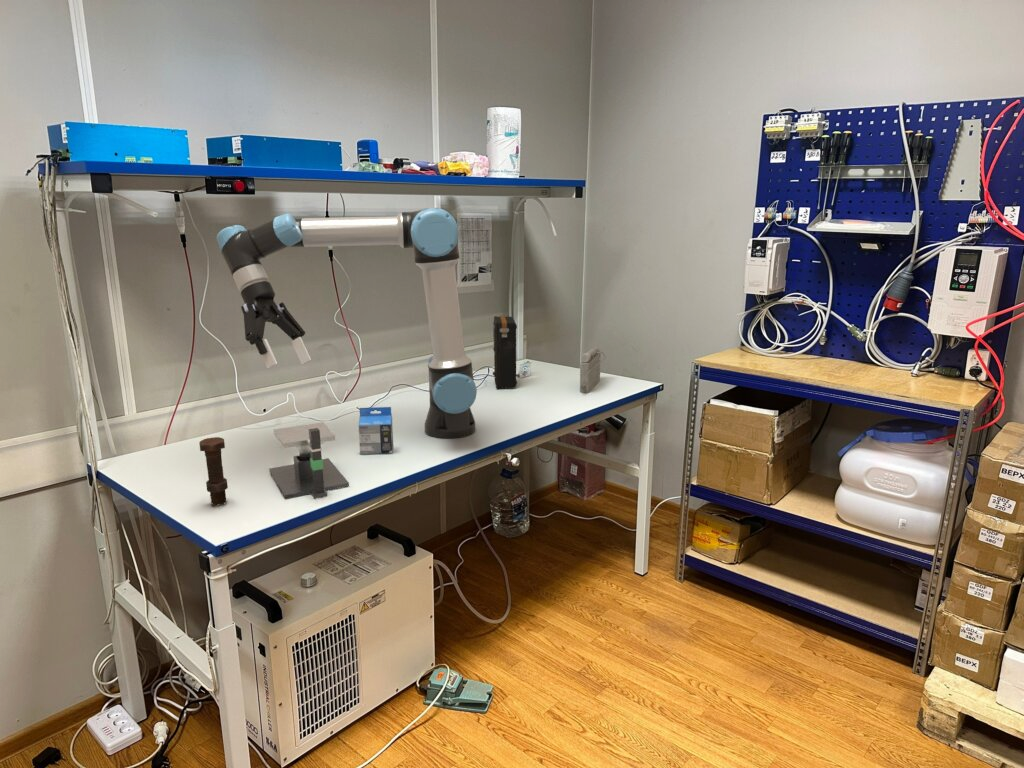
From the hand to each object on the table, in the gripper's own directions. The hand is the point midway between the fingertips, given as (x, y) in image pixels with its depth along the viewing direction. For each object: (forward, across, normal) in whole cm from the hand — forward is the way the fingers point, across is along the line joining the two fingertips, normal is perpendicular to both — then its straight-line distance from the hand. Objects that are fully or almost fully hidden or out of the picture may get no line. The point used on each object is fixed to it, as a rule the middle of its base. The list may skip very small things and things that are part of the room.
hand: (290, 364), depth 170 cm
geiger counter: (+38, -105, +40) cm, 119 cm away
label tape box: (+28, -21, -1) cm, 35 cm away
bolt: (+24, +19, -19) cm, 37 cm away
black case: (+23, -100, +13) cm, 103 cm away
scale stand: (+28, +2, -8) cm, 29 cm away
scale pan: (+24, +3, -5) cm, 24 cm away
